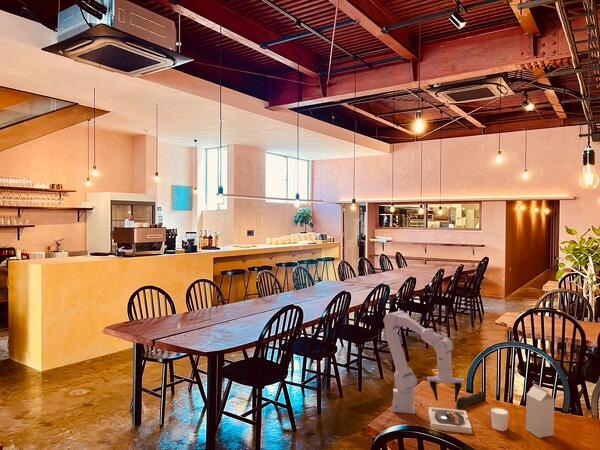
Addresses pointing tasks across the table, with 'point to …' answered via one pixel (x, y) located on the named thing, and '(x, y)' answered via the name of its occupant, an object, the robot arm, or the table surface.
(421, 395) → the table surface
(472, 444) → the table surface
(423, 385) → the table surface
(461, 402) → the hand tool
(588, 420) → the table surface
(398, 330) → the robot arm
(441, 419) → the dial
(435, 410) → the dial plate
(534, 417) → the milk carton
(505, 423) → the white cylinder
